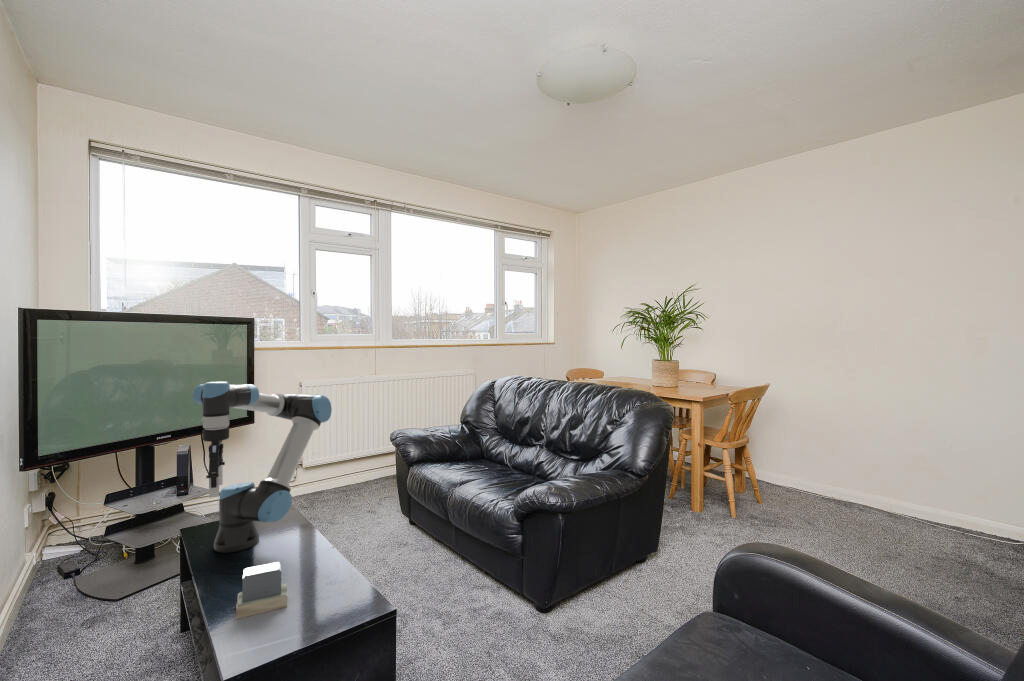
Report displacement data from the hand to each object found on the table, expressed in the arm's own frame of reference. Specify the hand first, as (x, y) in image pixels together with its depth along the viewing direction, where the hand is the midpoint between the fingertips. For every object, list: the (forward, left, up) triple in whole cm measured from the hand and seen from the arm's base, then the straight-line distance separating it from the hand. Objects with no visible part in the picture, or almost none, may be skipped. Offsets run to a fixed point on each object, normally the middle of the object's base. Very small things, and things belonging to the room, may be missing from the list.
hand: (216, 490), depth 153 cm
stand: (+27, +14, -29) cm, 42 cm away
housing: (+27, +14, -25) cm, 39 cm away
